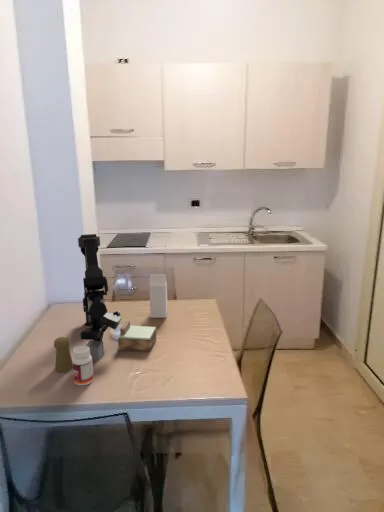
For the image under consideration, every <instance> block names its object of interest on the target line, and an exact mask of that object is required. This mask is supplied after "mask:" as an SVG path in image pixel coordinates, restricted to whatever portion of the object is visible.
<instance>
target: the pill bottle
mask: <svg viewBox="0 0 384 512" xmlns="http://www.w3.org/2000/svg"><path fill="white" fill-rule="evenodd" d="M72 355H73V356H72V357H71V359H72V365H73V369H72V375H73V377H72V378H73V383H74V384H75V385H76V386H87V385H89V384H91V383H92V382H93V381H94V368H93V360H92V356H91V355H90V348H89V347H88V346H86V345H80V346H76V347H74V348H73V349H72Z"/></svg>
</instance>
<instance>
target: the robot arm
mask: <svg viewBox="0 0 384 512" xmlns="http://www.w3.org/2000/svg"><path fill="white" fill-rule="evenodd" d="M77 243H78V248H80V252H81V254H82V255H83V256H84V261H85V262H84V263H85V271H84V277H83V278H82V279H83V280H82V282H83V291H84V292H83V298H82V307H83V308H82V310H83V312H84V313H85V323H84V325H85V326H91V327H85V328H84V329H83V330H82V331H81V332H80V333H79V339H80V340H83V341H85V340H86V341H90V340H91V341H103V339H104V333H105V332H106V331H107V330H108V328H111V329H113V330H116V329H117V328H118V326H119V325H120V323H121V320H122V315H121V311H119V310H115V311H114V312H108V308H107V305H106V299H105V298H104V297H105V296H108V292H109V285H108V279H107V277H106V276H105V275H104V273H103V269H101V267H100V266H99V260H98V254H97V253H98V252H99V247H100V246H101V237H100V236H97V233H91V234H89V233H88V234H81V235H80V236H79V237H78V238H77Z"/></svg>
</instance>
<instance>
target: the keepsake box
mask: <svg viewBox="0 0 384 512" xmlns="http://www.w3.org/2000/svg"><path fill="white" fill-rule="evenodd" d="M156 342H157V328H156V329H155V331H154V333H153V335H152V337H151V338H150V340H140V339H123V338H118V337H117V343H118V351H129V352H130V351H133V352H143V353H145V352H147V353H150V352H151V351H152V349H153V347H154V345H155V343H156Z"/></svg>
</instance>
